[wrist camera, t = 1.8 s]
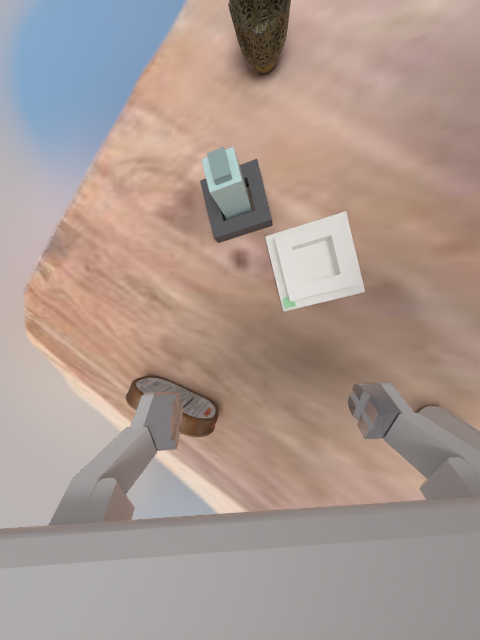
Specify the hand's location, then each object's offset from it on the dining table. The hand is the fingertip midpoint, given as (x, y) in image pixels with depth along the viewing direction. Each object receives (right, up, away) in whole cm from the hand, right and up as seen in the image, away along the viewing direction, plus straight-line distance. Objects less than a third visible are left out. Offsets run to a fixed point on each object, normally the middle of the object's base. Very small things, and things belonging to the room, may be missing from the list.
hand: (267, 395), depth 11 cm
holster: (-2, +22, +26) cm, 34 cm away
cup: (+3, +42, +24) cm, 48 cm away
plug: (-2, +22, +26) cm, 34 cm away
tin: (-11, -9, +30) cm, 33 cm away
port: (+10, +12, +24) cm, 29 cm away
